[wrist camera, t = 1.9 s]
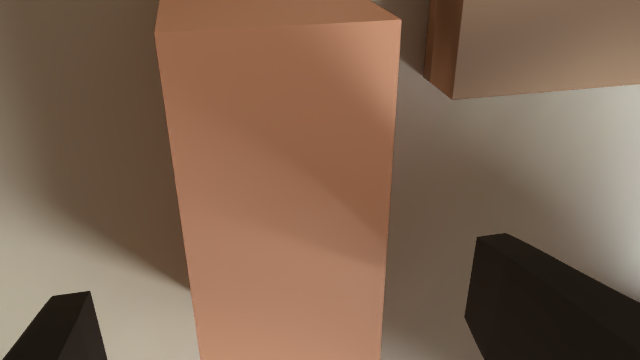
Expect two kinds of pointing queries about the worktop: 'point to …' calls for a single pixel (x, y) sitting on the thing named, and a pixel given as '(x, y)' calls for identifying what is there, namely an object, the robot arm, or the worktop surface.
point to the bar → (282, 170)
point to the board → (531, 46)
